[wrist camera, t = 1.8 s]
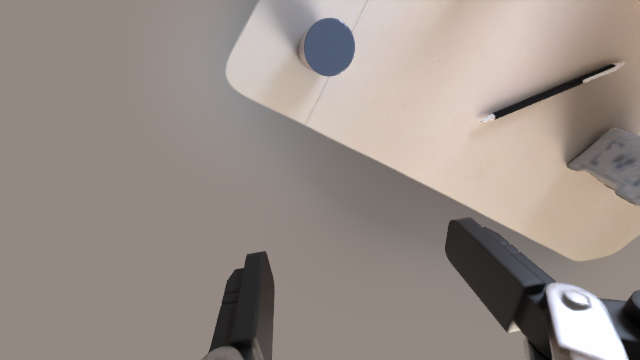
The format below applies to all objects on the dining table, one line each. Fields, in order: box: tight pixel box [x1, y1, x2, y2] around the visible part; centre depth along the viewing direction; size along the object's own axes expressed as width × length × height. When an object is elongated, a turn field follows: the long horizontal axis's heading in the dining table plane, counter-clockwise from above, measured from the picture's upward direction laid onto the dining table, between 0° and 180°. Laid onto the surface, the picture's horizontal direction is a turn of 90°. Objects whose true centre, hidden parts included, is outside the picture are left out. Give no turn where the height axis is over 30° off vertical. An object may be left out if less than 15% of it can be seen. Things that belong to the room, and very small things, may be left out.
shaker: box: [298, 18, 355, 76], centre depth 23 cm, size 4×4×9 cm
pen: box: [480, 61, 625, 122], centre depth 32 cm, size 1×19×1 cm, turn 111°
